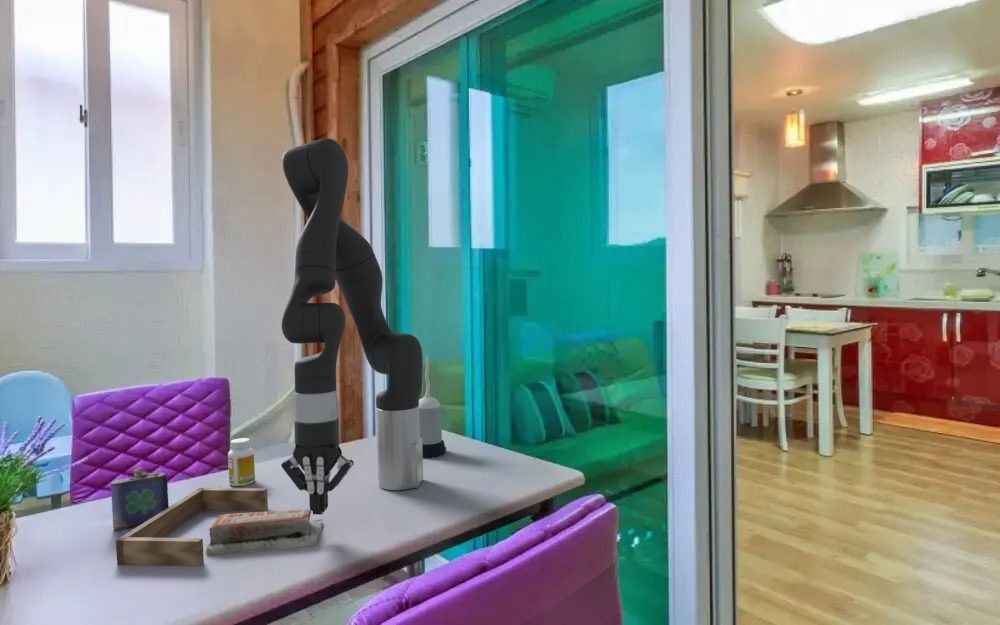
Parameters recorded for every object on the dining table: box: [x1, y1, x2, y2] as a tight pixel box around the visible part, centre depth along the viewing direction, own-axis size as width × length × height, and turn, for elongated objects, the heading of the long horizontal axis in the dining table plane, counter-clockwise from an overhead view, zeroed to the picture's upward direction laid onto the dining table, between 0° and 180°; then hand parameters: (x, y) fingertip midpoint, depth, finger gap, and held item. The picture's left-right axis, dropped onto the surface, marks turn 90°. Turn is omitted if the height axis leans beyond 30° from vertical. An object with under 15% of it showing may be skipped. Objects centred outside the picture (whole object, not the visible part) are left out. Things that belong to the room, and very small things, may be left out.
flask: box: [110, 466, 170, 531], centre depth 118 cm, size 9×3×11 cm, turn 121°
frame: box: [115, 487, 269, 567], centre depth 113 cm, size 14×24×4 cm, turn 175°
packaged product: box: [205, 509, 323, 556], centre depth 111 cm, size 18×5×10 cm
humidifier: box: [419, 355, 447, 459], centre depth 160 cm, size 8×8×25 cm
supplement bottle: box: [227, 437, 256, 487], centre depth 140 cm, size 5×5×10 cm
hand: (318, 512), depth 111 cm, fingers closed
